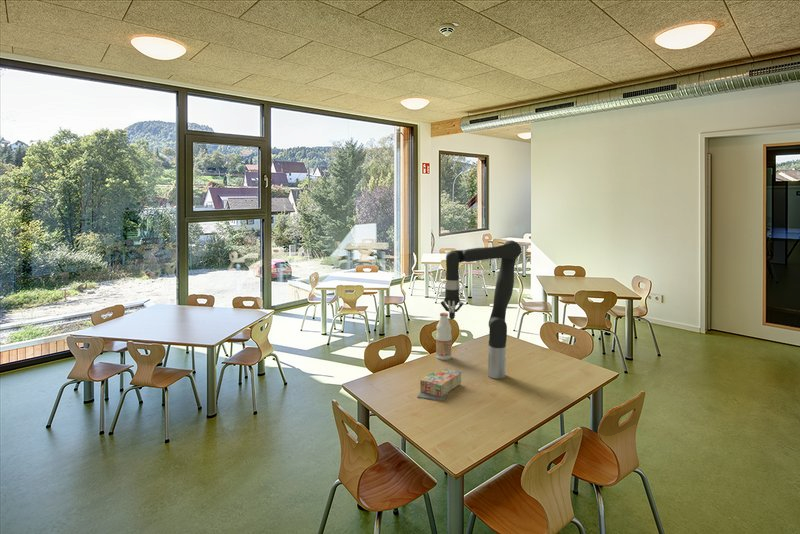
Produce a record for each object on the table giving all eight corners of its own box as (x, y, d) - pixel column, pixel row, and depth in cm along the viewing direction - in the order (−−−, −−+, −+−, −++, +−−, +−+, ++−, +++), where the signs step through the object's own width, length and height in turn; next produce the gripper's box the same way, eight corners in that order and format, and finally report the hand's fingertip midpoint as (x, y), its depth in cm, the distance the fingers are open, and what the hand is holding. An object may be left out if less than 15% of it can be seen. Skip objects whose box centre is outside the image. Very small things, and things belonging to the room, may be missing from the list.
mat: (454, 382, 246) (454, 381, 245) (443, 401, 223) (443, 400, 223) (430, 379, 250) (430, 378, 250) (417, 397, 227) (417, 396, 227)
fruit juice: (433, 358, 283) (434, 314, 279) (439, 354, 291) (439, 311, 287) (448, 361, 279) (448, 316, 275) (453, 356, 287) (453, 312, 283)
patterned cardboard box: (461, 383, 243) (441, 378, 251) (461, 372, 242) (441, 367, 250) (440, 397, 226) (419, 391, 233) (440, 385, 225) (419, 379, 233)
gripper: (465, 287, 251) (465, 318, 254) (442, 286, 256) (441, 316, 258) (462, 289, 244) (462, 321, 247) (438, 288, 249) (438, 319, 251)
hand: (451, 318), depth 253 cm, fingers closed
